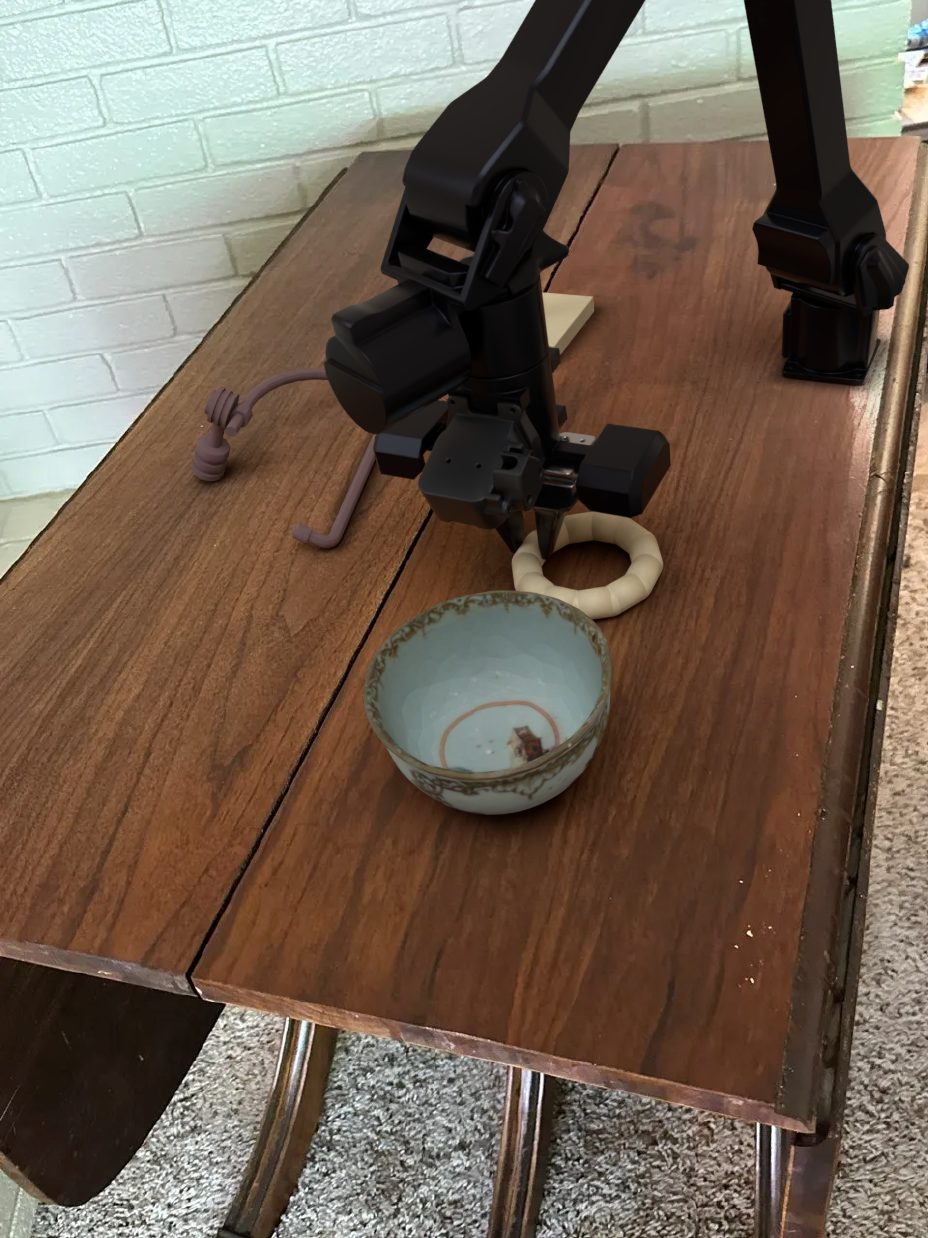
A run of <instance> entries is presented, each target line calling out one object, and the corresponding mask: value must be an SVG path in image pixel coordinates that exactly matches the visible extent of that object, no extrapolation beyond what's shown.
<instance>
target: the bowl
mask: <svg viewBox="0 0 928 1238" xmlns="http://www.w3.org/2000/svg"><path fill="white" fill-rule="evenodd" d="M612 681H613V660H612V654H611V648H610V647H609V644H608V642H607V638H606V637H605V635H604V633H603V631H602V629H601V628H600V626H598V624H597V623H596V622H595V621H594V619H591V618H590V617H588V616H587V615H586V614H585V613H584V612H582V611H581V610H580V609H578V608H576V607H574V606H572V605H570V604H569V603H566V602H564V601H562V600H560V599H557V598H554V597H551V596H547V595H542V594H538V593H534V592H524V591H516V590H488V591H483V592H476V593H471V594H465V595H461V596H456V597H454V598H451V599H447V600H445V601H443V602H441V603H437V604H435V605H432V606H430V607H429V608H426V609H424V610H423V611H421V612H419V613H418V614H415V615H414V616H413V617H411V618H409V619H408V620H406V621H405V622H404V623H402V624H400V626H399V627H397V628H396V629H395V630H394V631H393V632H392V633H391V634H390V635H389V636H388V637H387V638H386V640H384V642H383V643H382V644H381V645H380V646H379V647H378V649H377V651H376V652H375V653H374V655H373V657H372V659H371V661H370V663H369V665H368V668H367V669H366V673H365V678H364V683H363V694H362V700H363V707H364V712H365V716H366V718H367V720H368V723H369V725H370V727H371V730H372V731H373V732H374V733H375V735H376V736H377V738H378V739H379V740H380V741H381V743H382V744H383V745H384V747H385V748H386V750H387V752H388V754H389V755H390V757H391V759H392V761H394V763H395V765H396V766H397V768H398V769H399V770H400V772H401V773H402V774H403V775H404V777H405V778H406V779H408V780H409V781H410V782H411V783H412V784H413V785H414V786H415V787H416V788H417V789H418V790H420V792H422V793H423V794H425V795H426V796H428V797H430V798H431V799H433V800H435V801H436V802H439V803H440V804H442V805H445V806H446V807H449V808H452V809H455V810H459V811H461V812H466V813H471V814H476V815H477V814H478V815H506V814H512V813H518V812H519V813H520V812H522V811H525V810H529V809H532V808H535V807H537V806H539V805H542V804H544V803H546V802H547V801H549V800H552V799H554V798H555V797H557V796H558V795H560V794H561V793H563V792H564V791H565V790H566V789H567V788H569V787H570V786H571V785H572V784H573V783H574V782H575V781H576V780H577V779H578V778H579V777H580V776H581V775H582V774H583V773H584V772H585V771H586V769H587V768H588V766H590V764H591V762H592V761H593V759H594V757H595V756H596V754H597V753H598V749H599V748H600V746H601V744H602V742H603V739H604V736H605V733H606V729H607V726H608V724H609V715H610V710H611V709H610V707H611V687H612Z"/></svg>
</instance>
